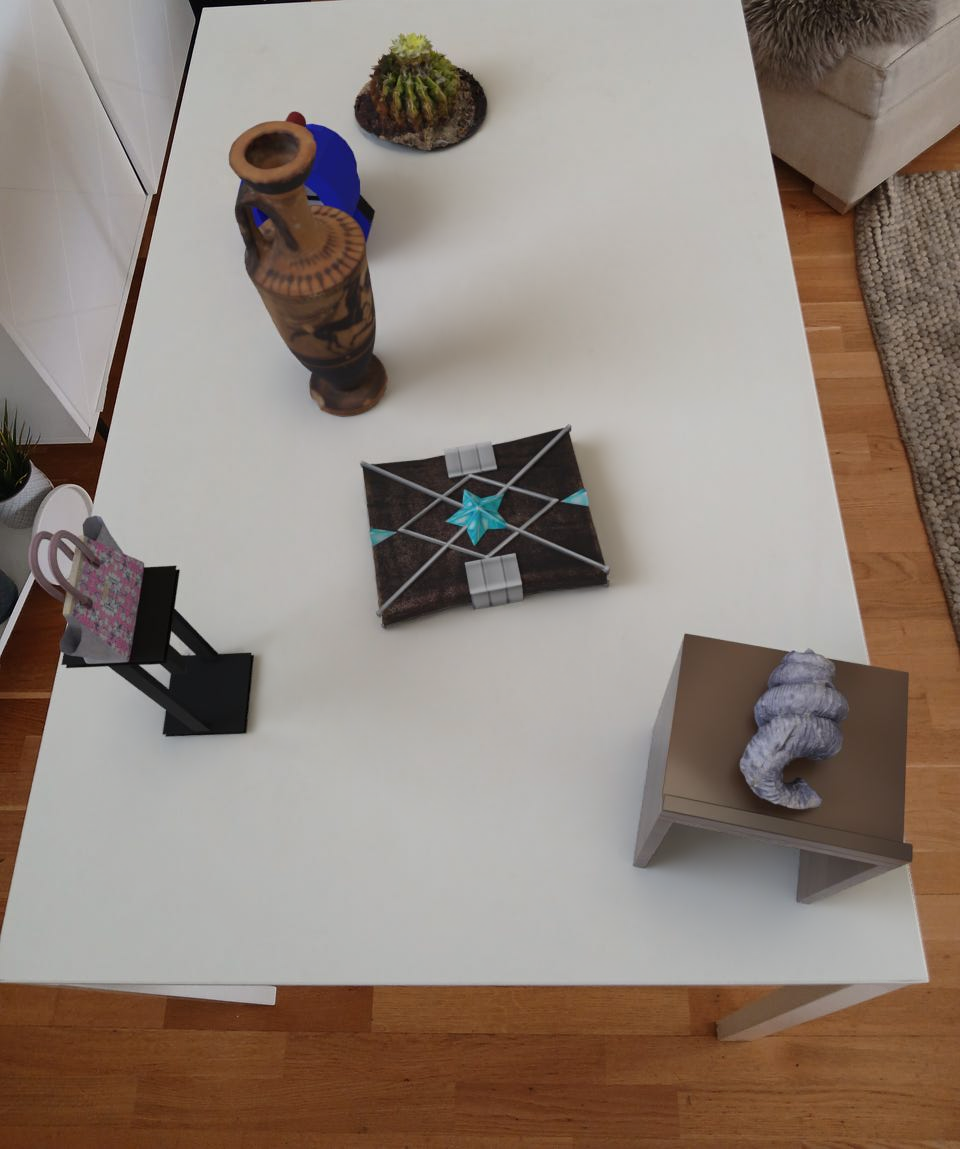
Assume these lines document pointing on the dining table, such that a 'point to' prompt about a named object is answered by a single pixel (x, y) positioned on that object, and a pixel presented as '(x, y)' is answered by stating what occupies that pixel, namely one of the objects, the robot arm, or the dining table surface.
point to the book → (480, 526)
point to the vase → (308, 267)
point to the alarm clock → (331, 177)
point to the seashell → (794, 728)
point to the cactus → (420, 97)
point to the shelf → (845, 782)
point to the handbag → (142, 633)
